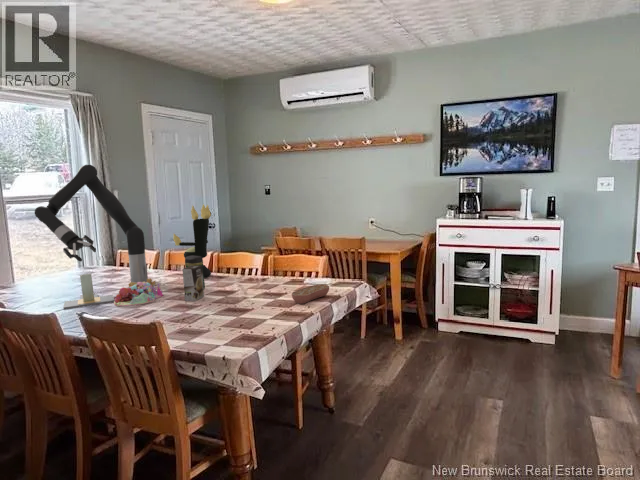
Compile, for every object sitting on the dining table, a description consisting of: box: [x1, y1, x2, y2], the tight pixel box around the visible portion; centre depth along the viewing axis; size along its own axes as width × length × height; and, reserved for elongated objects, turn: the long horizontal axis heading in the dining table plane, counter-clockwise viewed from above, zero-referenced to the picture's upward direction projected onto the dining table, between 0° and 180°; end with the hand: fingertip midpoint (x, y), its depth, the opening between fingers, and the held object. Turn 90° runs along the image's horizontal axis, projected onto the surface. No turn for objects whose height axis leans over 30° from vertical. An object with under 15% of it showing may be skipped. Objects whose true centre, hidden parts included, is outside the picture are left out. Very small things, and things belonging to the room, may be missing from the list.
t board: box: [62, 292, 115, 310], centre depth 230 cm, size 22×23×1 cm
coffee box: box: [182, 266, 205, 302], centre depth 224 cm, size 9×6×16 cm
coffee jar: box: [184, 255, 206, 289], centre depth 244 cm, size 10×8×19 cm
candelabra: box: [172, 203, 212, 279], centre depth 274 cm, size 19×22×45 cm
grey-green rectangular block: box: [79, 273, 95, 302], centre depth 225 cm, size 5×5×13 cm
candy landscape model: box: [113, 278, 164, 307], centre depth 229 cm, size 25×24×9 cm
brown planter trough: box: [291, 284, 330, 305], centre depth 215 cm, size 23×10×5 cm, turn 142°
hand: (88, 255), depth 238 cm, fingers open, 8 cm apart
